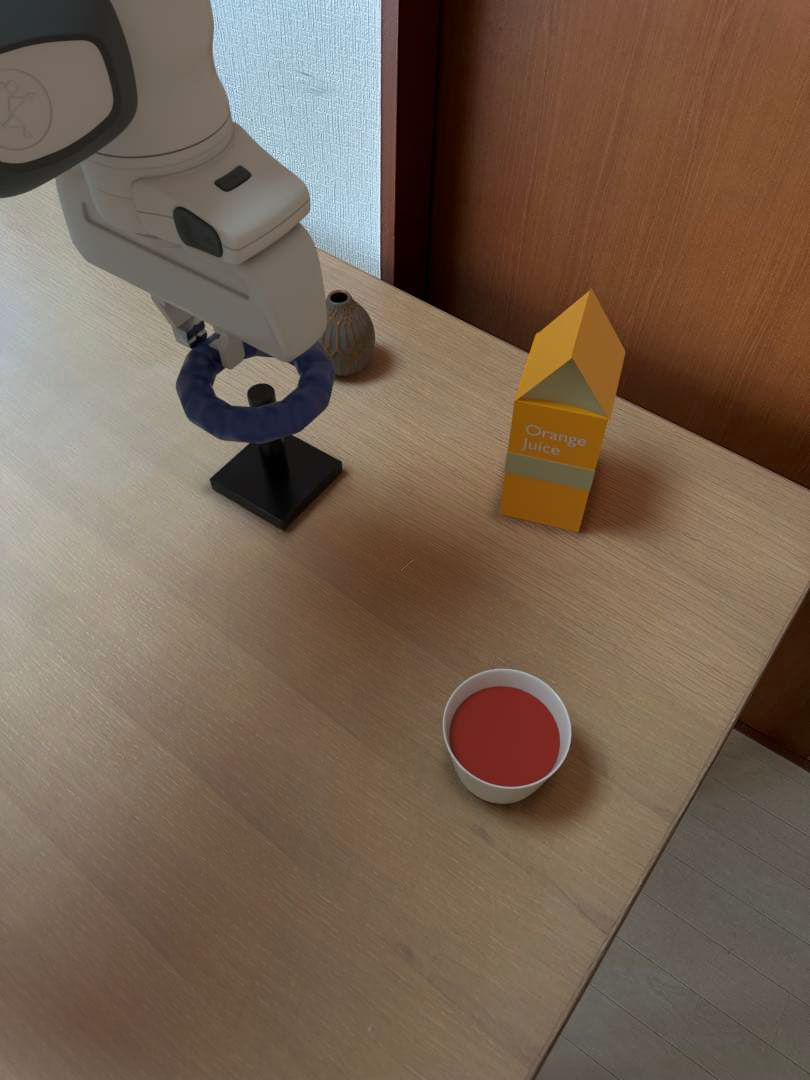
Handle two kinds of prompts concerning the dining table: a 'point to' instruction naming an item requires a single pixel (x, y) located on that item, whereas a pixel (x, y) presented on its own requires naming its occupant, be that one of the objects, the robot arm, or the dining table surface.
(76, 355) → the dining table surface
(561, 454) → the orange juice
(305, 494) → the black post stand
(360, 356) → the vase
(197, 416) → the ring
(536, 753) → the candle
